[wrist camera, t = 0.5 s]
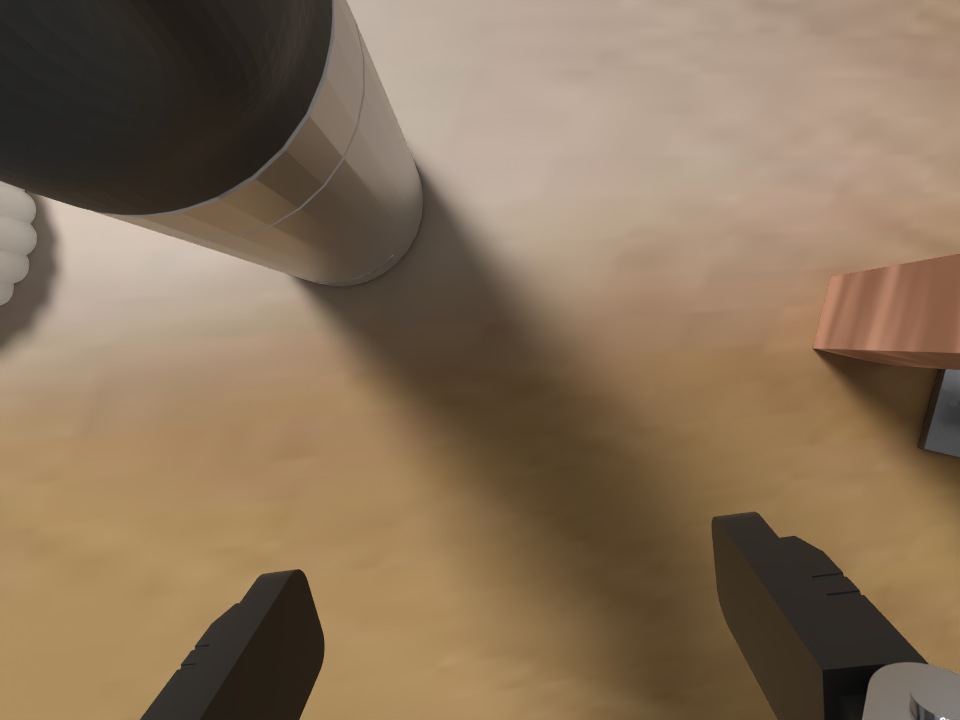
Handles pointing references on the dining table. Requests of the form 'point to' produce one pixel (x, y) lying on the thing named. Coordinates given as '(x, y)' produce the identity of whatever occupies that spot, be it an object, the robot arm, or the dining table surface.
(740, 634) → the robot arm
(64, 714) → the dining table surface
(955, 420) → the socket base
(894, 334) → the square peg
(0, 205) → the mooncake
